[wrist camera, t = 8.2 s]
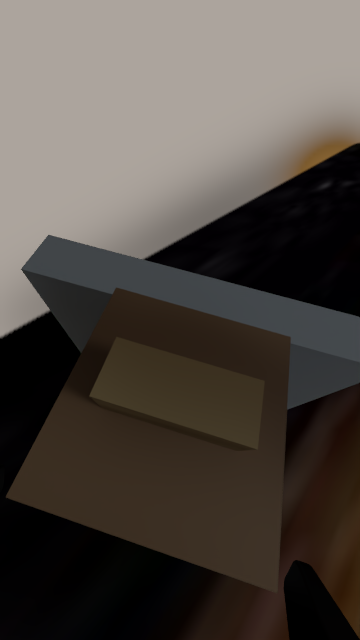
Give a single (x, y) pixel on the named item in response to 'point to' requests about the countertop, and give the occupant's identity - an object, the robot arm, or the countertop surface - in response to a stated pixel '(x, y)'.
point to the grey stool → (199, 294)
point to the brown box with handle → (171, 437)
